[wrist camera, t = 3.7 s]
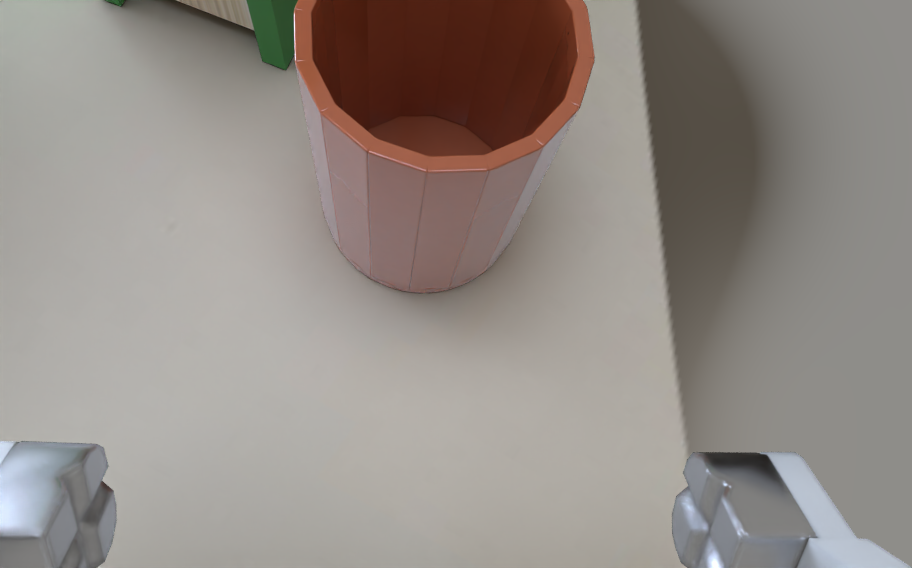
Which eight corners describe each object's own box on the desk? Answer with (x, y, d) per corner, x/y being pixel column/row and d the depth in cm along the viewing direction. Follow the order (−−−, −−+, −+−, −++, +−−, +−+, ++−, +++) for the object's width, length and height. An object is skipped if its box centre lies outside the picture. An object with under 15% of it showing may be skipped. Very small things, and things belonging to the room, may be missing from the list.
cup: (484, 319, 26) (547, 213, 16) (295, 255, 26) (246, 111, 16) (538, 149, 28) (624, -35, 18) (363, 89, 28) (355, -127, 18)
